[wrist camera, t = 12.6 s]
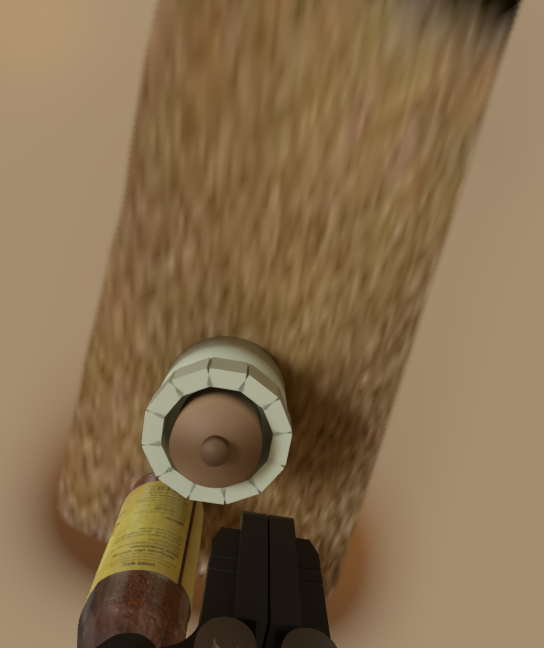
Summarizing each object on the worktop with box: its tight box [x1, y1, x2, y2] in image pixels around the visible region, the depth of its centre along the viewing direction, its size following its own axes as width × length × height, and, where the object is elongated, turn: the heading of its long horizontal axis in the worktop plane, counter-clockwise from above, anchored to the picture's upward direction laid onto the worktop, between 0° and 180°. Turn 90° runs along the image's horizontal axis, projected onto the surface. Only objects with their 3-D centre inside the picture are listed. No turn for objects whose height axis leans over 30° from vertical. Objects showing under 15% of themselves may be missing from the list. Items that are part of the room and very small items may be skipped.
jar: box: [142, 336, 292, 505], centre depth 33 cm, size 9×9×7 cm
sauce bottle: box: [77, 472, 205, 648], centre depth 29 cm, size 6×6×20 cm
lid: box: [169, 386, 262, 488], centre depth 30 cm, size 6×6×4 cm
